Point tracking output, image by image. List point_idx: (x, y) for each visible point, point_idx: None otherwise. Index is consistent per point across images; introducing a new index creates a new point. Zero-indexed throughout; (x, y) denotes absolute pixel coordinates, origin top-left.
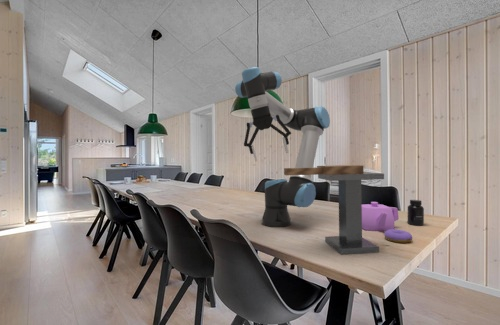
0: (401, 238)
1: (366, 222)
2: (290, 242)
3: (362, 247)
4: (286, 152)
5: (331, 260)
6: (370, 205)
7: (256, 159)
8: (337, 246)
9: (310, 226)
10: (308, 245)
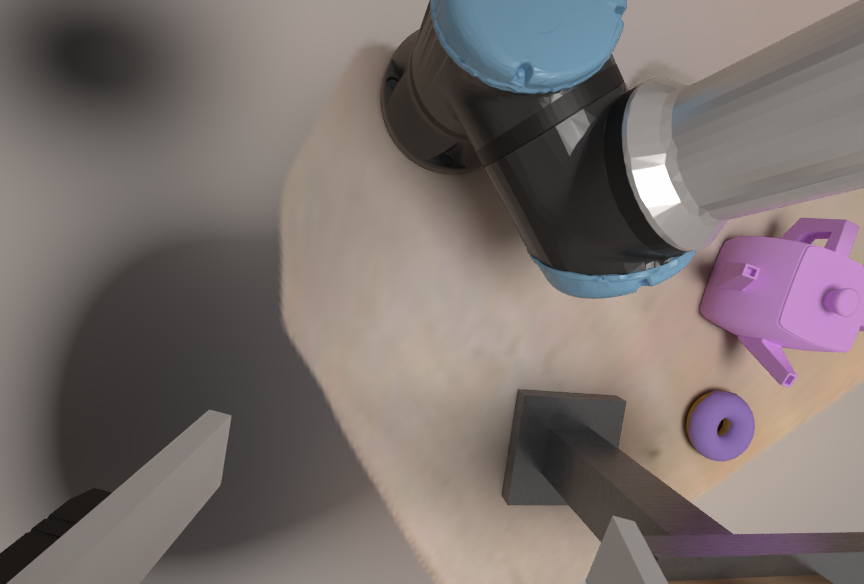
0: (706, 457)
1: (724, 322)
2: (407, 370)
3: (565, 503)
4: (591, 579)
5: (455, 527)
6: (829, 279)
7: (206, 497)
8: (510, 480)
9: None
10: (451, 410)
